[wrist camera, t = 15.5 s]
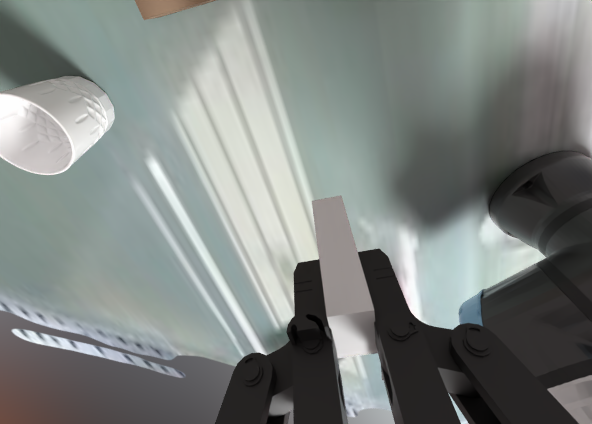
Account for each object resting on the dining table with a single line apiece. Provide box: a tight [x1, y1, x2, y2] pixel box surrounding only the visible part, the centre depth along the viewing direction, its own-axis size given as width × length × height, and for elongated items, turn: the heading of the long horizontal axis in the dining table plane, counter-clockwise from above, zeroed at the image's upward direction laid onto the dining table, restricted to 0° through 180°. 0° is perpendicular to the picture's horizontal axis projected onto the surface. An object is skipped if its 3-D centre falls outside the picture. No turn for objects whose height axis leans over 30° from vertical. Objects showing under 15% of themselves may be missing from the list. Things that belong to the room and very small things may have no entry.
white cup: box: [0, 76, 115, 175], centre depth 30 cm, size 8×8×10 cm
